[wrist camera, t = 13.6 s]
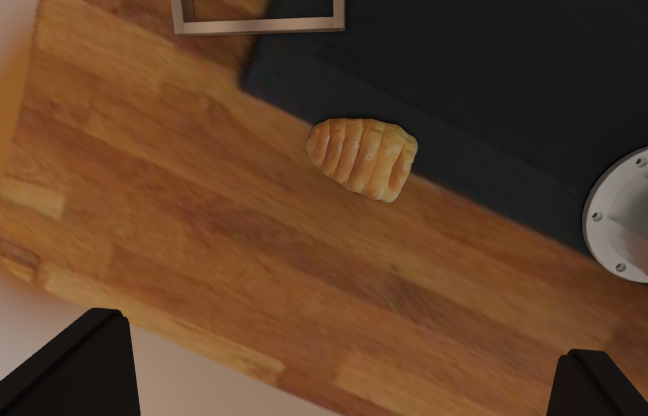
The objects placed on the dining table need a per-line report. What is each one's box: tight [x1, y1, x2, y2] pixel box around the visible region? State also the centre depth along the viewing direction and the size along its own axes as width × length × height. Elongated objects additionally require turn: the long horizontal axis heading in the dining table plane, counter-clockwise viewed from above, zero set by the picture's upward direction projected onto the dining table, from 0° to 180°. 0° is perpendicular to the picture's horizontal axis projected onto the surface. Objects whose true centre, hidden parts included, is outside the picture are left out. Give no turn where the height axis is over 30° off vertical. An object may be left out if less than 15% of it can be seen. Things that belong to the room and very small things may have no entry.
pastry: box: [306, 118, 418, 203], centre depth 37 cm, size 9×7×4 cm
